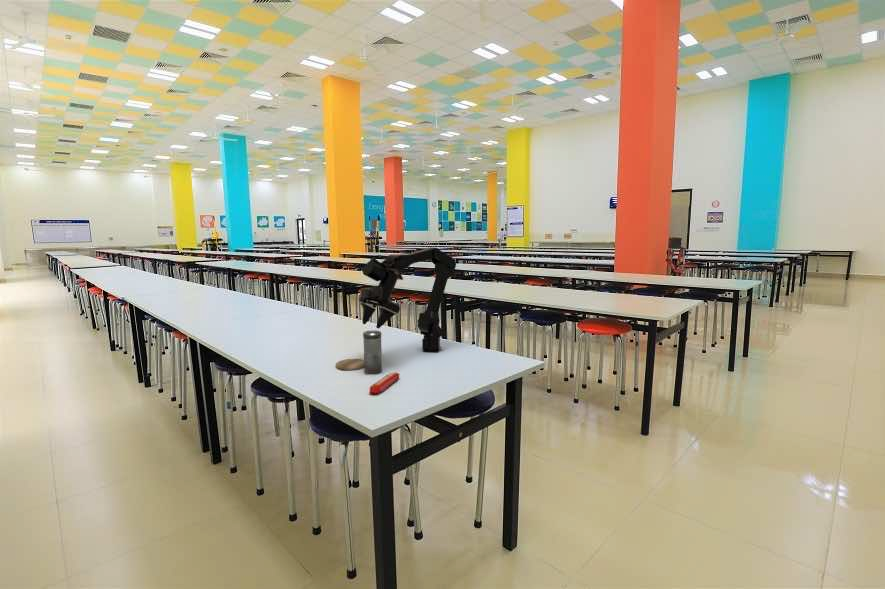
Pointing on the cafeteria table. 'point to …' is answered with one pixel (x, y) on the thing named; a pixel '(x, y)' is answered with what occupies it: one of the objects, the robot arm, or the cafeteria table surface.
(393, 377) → the red rounded bar
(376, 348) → the tumbler
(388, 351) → the cafeteria table surface
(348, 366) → the coaster
